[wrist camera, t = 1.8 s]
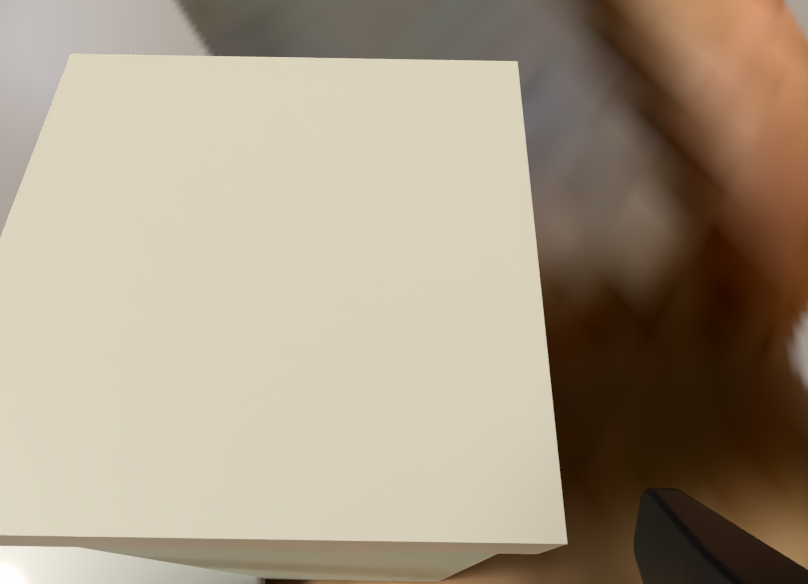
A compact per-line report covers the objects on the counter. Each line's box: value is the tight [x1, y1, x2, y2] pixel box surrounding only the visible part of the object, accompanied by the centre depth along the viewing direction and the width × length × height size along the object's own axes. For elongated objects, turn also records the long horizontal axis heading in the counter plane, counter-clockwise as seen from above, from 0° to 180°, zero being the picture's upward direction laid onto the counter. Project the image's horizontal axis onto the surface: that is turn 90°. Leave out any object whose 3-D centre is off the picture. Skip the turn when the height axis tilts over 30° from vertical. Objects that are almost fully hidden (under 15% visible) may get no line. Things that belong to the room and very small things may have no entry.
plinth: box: [0, 546, 266, 584], centre depth 15 cm, size 11×11×1 cm
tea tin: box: [0, 54, 568, 582], centre depth 11 cm, size 5×5×13 cm
